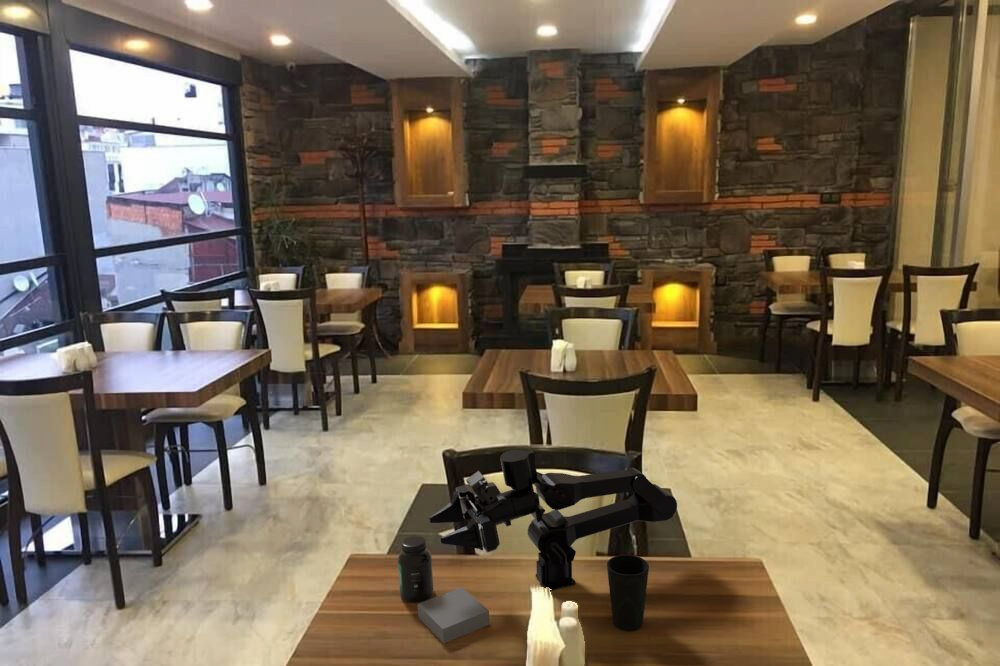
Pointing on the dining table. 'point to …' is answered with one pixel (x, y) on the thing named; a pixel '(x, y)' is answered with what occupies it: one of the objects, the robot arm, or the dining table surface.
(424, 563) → the supplement bottle
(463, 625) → the plinth
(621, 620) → the cup
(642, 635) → the dining table surface
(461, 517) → the robot arm
